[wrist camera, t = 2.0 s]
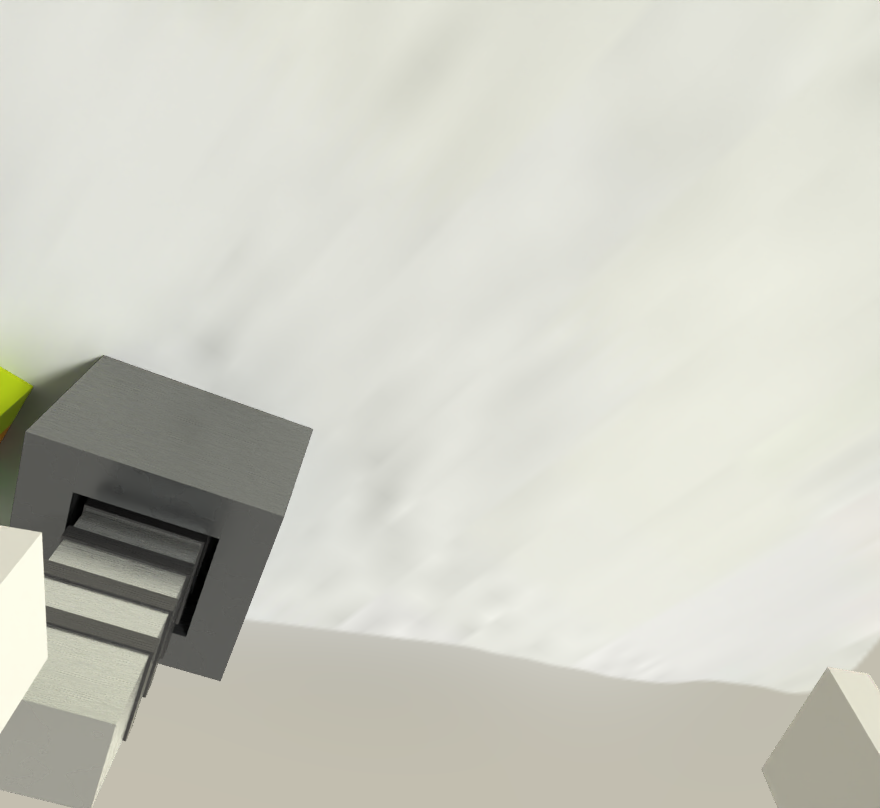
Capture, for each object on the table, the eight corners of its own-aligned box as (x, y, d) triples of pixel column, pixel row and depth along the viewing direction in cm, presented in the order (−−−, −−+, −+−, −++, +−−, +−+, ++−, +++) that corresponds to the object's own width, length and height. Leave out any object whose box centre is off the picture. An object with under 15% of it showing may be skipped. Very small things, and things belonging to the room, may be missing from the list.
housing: (68, 519, 49) (-36, 656, 38) (103, 355, 43) (-8, 463, 33) (256, 577, 51) (205, 722, 40) (313, 429, 45) (271, 553, 35)
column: (128, 497, 48) (-60, 777, 30) (148, 419, 45) (-47, 678, 27) (221, 527, 49) (92, 814, 31) (246, 453, 46) (120, 723, 29)
